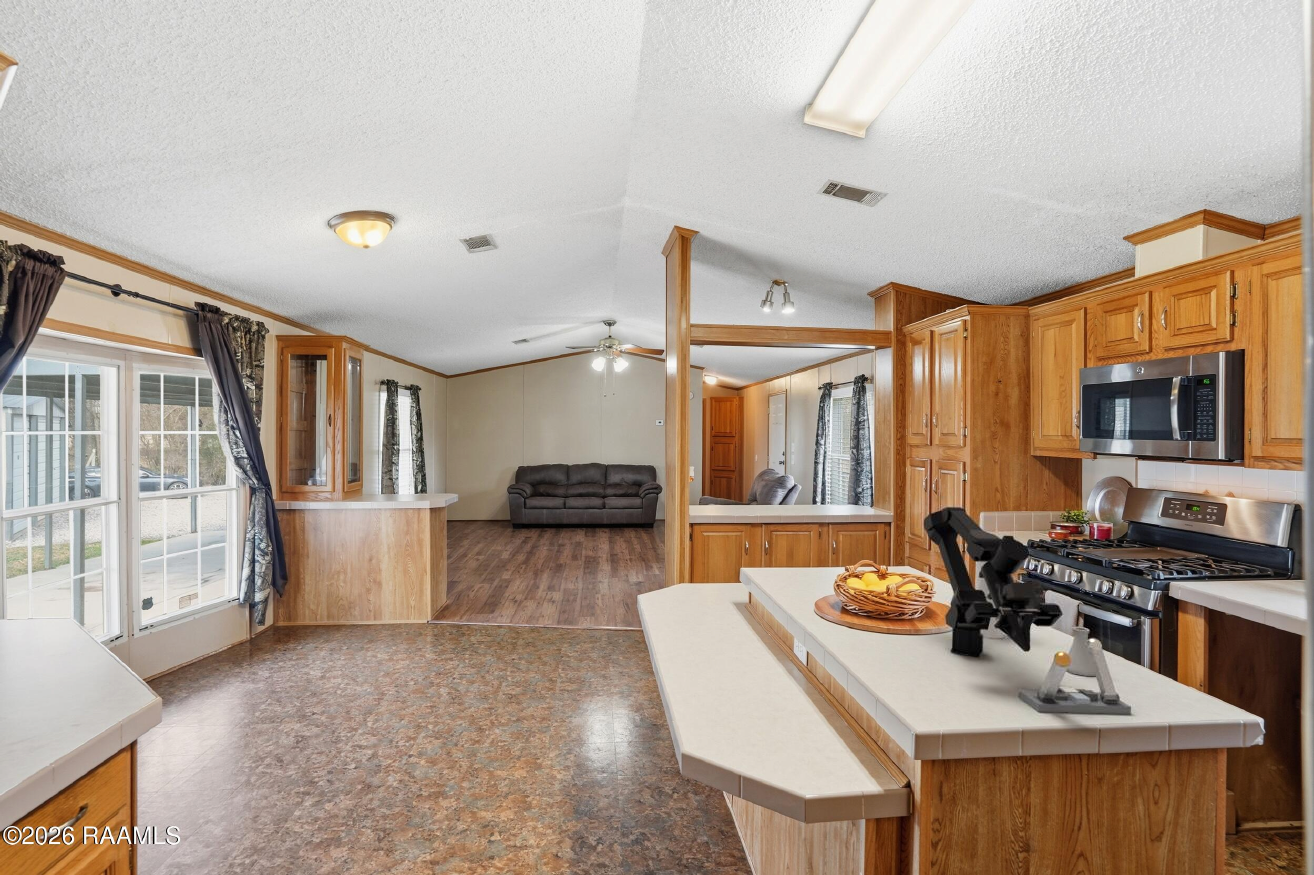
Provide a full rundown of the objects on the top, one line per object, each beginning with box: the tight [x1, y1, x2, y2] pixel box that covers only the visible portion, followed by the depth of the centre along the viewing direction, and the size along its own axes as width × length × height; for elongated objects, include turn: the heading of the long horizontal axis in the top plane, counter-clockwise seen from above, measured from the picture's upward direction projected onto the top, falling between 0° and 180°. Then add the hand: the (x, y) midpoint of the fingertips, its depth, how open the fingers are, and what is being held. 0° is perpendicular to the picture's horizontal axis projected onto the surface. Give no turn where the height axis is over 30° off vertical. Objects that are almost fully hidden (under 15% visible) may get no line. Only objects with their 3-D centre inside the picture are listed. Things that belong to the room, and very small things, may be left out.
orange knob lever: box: [1037, 651, 1071, 700], centre depth 125 cm, size 3×3×12 cm
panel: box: [1018, 686, 1132, 715], centre depth 129 cm, size 7×18×3 cm, turn 90°
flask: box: [1066, 626, 1096, 677], centre depth 149 cm, size 7×7×10 cm
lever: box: [1086, 637, 1121, 702], centre depth 130 cm, size 3×3×12 cm
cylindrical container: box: [974, 561, 1005, 640], centre depth 176 cm, size 7×7×25 cm
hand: (1027, 650), depth 134 cm, fingers closed
